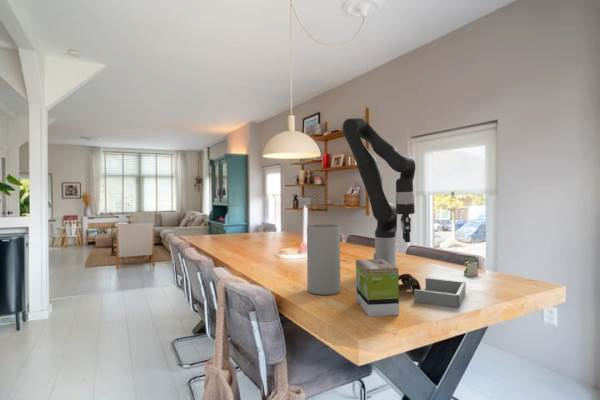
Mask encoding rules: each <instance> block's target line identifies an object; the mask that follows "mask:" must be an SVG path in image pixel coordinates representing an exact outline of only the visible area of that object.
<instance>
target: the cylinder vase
mask: <svg viewBox="0 0 600 400" xmlns="http://www.w3.org/2000/svg"><path fill="white" fill-rule="evenodd" d="M306 253H307V254H306V257H307V258H306V261H307V262H306V263H307V268H306V269H307V271H306V272H307V275H306V276H307V277H306V278H307V291H308V292H309V293H310V294H312V293H313V294H312V295H316V294H318V296H330V295H331V296H332V295H335V294H339V292H340V291H341V225H340V224H327V223H326V224H320V223H319V224H309V225H306Z"/></svg>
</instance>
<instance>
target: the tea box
mask: <svg viewBox="0 0 600 400" xmlns="http://www.w3.org/2000/svg"><path fill="white" fill-rule="evenodd" d="M399 275H400V274H399V267H397V266H396V267H395V266H394V265H392V264H390V263H389V262H387V261H385V260H384V259H374V258H373V259H372V258H371V259H356V260H355V278H356V302H357V303H358V304H359V306H360V307H361V309H363V311H364V312H365V314H366V315H367V316H368V317H382V316H383V317H384V316H399V315H400V302H399V301H400V295H399V294H400V292H399V284H400V283H399V281H400V280H399Z"/></svg>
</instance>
